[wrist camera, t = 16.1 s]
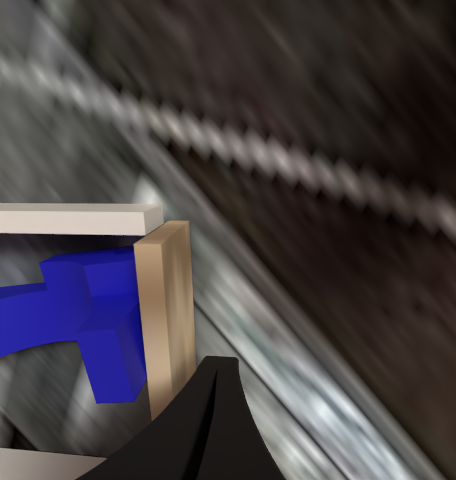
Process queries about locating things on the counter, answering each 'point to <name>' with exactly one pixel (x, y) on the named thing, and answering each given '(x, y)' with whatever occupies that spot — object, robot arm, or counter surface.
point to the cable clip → (83, 317)
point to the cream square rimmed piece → (68, 222)
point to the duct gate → (166, 311)
